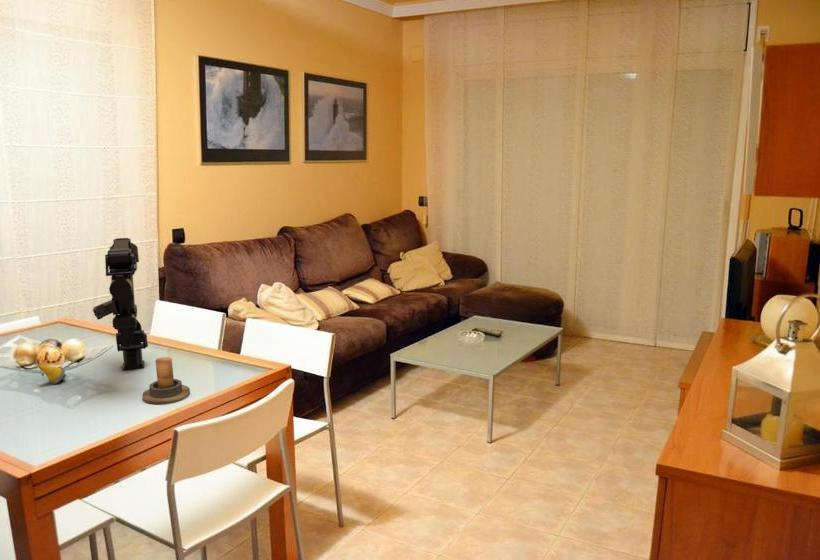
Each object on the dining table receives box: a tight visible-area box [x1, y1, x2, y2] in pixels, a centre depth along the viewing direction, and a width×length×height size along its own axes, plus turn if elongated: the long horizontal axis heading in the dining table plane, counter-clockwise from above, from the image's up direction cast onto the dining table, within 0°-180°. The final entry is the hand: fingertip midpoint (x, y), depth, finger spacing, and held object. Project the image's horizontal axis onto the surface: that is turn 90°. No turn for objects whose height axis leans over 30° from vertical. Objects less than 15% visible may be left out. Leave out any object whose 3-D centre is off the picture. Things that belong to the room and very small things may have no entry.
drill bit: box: [37, 364, 68, 385], centre depth 206 cm, size 5×5×10 cm
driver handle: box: [155, 356, 175, 389], centre depth 196 cm, size 4×4×10 cm
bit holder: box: [141, 378, 191, 405], centre depth 197 cm, size 13×13×4 cm
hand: (127, 342), depth 204 cm, fingers open, 9 cm apart
